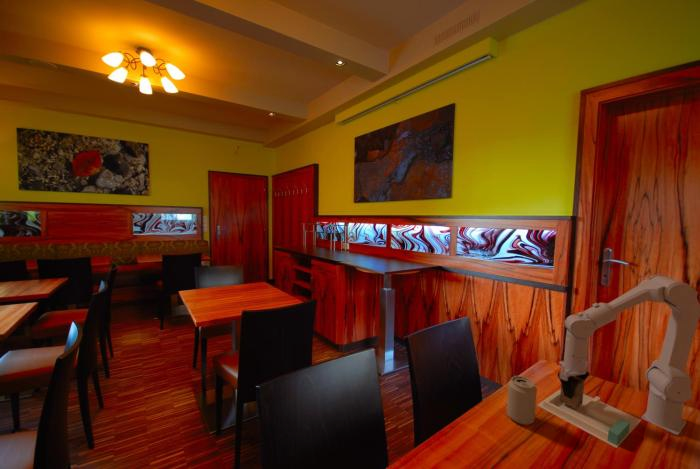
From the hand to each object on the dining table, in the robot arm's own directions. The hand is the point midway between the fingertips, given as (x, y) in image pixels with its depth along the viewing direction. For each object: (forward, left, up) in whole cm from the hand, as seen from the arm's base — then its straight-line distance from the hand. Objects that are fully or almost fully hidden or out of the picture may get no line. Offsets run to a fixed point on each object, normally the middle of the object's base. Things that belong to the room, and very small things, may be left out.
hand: (571, 394), depth 100 cm
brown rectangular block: (0, 0, -3) cm, 3 cm away
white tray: (0, +4, -4) cm, 6 cm away
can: (+19, -6, -5) cm, 20 cm away
